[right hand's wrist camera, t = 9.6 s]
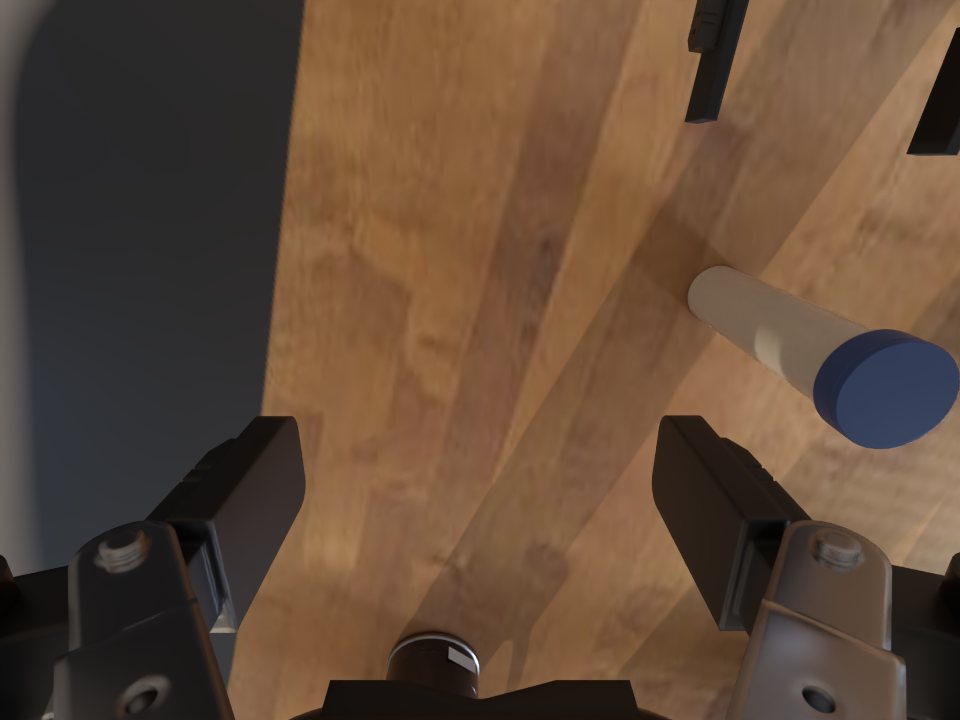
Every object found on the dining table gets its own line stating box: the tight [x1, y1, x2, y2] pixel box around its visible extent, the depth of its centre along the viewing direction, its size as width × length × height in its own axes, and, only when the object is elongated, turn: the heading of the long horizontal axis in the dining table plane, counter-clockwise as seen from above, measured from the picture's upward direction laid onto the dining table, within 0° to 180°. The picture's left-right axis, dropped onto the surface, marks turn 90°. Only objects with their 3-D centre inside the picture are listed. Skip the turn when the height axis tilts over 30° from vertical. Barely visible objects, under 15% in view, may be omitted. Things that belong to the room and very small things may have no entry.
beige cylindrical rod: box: [688, 266, 875, 402], centre depth 31 cm, size 4×4×18 cm
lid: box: [813, 329, 960, 449], centre depth 23 cm, size 5×5×2 cm
